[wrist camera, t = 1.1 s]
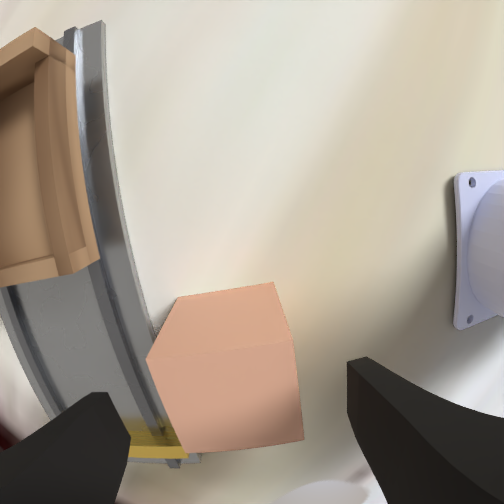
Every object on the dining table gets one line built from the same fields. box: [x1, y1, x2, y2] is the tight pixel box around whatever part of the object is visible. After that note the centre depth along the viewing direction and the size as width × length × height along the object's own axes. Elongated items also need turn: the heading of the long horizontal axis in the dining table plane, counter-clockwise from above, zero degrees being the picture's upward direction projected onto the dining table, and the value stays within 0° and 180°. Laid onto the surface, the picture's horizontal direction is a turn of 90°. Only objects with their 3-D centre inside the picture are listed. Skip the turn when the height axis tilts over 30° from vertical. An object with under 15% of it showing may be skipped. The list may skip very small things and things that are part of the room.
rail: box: [0, 20, 201, 468], centre depth 11 cm, size 9×23×2 cm, turn 10°
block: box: [146, 282, 304, 453], centre depth 11 cm, size 4×4×5 cm
